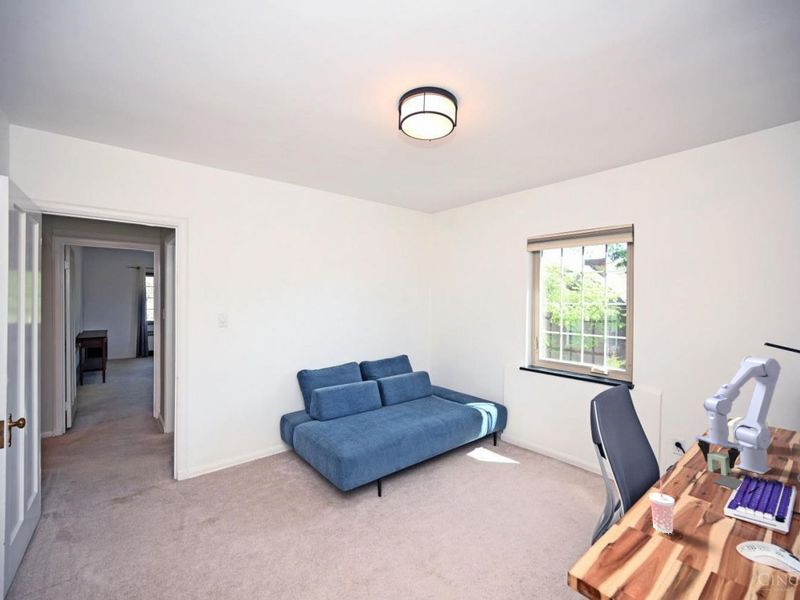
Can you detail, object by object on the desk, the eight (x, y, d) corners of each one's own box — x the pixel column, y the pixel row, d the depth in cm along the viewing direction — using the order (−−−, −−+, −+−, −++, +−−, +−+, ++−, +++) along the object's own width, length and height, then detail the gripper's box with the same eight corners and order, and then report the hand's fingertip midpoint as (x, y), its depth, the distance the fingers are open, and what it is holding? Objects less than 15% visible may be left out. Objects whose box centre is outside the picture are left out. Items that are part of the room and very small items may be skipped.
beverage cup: (667, 537, 105) (665, 486, 106) (645, 526, 111) (643, 478, 111) (680, 532, 108) (678, 482, 108) (658, 521, 113) (657, 474, 114)
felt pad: (724, 476, 143) (724, 475, 143) (759, 486, 134) (759, 485, 134) (712, 482, 138) (712, 481, 138) (748, 493, 129) (748, 492, 129)
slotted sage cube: (714, 467, 151) (713, 451, 151) (731, 472, 146) (730, 455, 146) (708, 470, 148) (707, 454, 148) (725, 475, 143) (725, 458, 143)
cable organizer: (758, 453, 164) (757, 426, 165) (727, 446, 173) (726, 420, 174) (769, 446, 172) (768, 420, 173) (739, 440, 181) (738, 415, 182)
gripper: (691, 426, 151) (692, 460, 151) (737, 436, 139) (739, 473, 139) (699, 423, 155) (700, 456, 155) (745, 432, 143) (746, 469, 142)
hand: (719, 464), depth 147 cm, fingers open, 7 cm apart
